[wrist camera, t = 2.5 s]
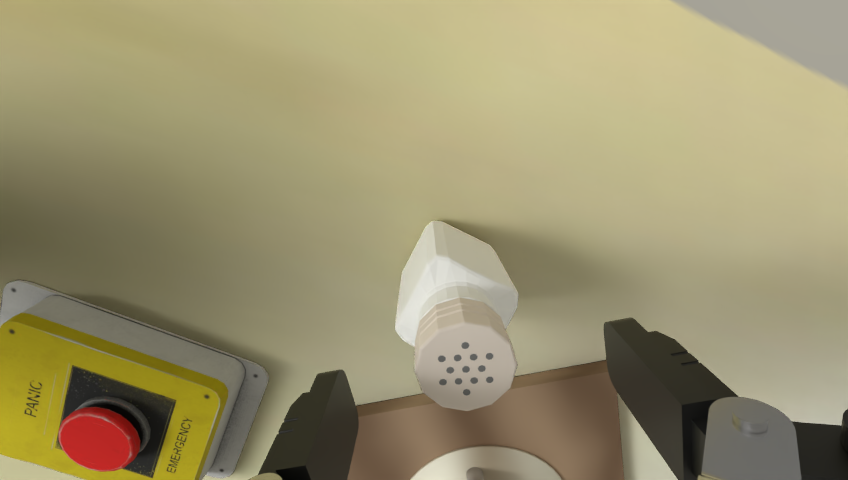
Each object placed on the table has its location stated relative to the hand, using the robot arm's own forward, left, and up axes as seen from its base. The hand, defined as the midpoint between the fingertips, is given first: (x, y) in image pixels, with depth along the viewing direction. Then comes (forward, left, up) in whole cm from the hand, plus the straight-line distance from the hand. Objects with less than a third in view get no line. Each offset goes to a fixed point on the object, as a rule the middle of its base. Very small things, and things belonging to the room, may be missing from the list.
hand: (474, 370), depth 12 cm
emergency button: (-20, -4, -10) cm, 23 cm away
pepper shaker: (0, 0, -10) cm, 10 cm away
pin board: (-1, -17, -10) cm, 19 cm away
